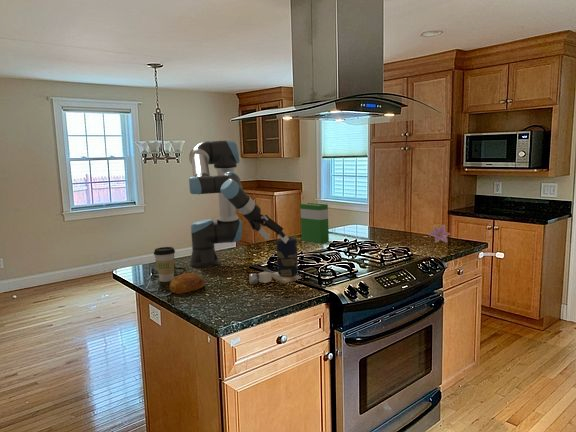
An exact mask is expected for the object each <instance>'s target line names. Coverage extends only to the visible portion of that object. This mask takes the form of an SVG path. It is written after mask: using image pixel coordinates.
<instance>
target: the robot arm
mask: <svg viewBox="0 0 576 432" xmlns="http://www.w3.org/2000/svg"><path fill="white" fill-rule="evenodd" d="M188 159H189V163H190V165H191V169H192V170H191V171H192V176H191V177H189V178H188V184H189V193H190V194H191V195H207V194H209V195H210V194H218V209H219V211H218V212H219V216H218V217H217V218H216V221H214V220H213V219H211V218H208V219H202V220H198V221H195V222H193V223H192V224H191V225H190V235H191V247H192V251H191V255H190V259H189V265H190V267H193V268H206V267H212V266H215V265H216V266H217V265H218V264H219V263H220V261H219V260H220V259H219V256H218V255H217V252H216V248H215V244H226V243H228V244H229V243H237V242H240V241H241V238H242V232H243V221H242V220H241V219H240V218H239V216H238V214H236V213H237V212H236V211H238V213H240V214H241V215H242V216H243V217H244V218H245V219H246V220H247V222H248V223H249V226H250V228H251V229H252V230H253V231H254V230H255V231H256V232H258V234H260V235H261V236H262V237H263V239H264V240H265V241H268V240H269V239H270V237H271V235H270V234H269V233H268V231H266V229H265V228H264V227H266V228H267V229H270V230H271V231H273V232H274V233H275V234H276V236H278V237H279V238H280V239H281V240H282V241H283V242H284V243H287V241H288V240H289V238H288V237H289V236H287V235H286V234H285V232H284V231H283V230H284V227H282V226H281V225H280V224H278V223H277V222H276V221H275V220H273V219H272V218H270V217H269V216H268V215H267V214H265V215H264V214H262V213H261V211H262V210H261V207H260V206H259V205H258V204H257V203H256V202H255V201H254V200H253V199H252V198H251V196H249V194H247V192H246V191H245V190H244V189H243V186H242V183H241V178H240V176H239V175H238V173H236V172H235V169H236V168H237V167H238V165H237V164H239V163H240V154H239V150H238V146H237V143H236V141H234V140H211V141H209V140H208V141H207V140H206V141H202V142H200V143H198V144H196V145H195V146H194V147H192V149H191V151H190V153H189V157H188ZM209 165H213V168H214V169H215V170H216V171H217V173H216V174H217V175H211V174H210V167H209ZM262 226H263V227H262Z"/></svg>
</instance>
